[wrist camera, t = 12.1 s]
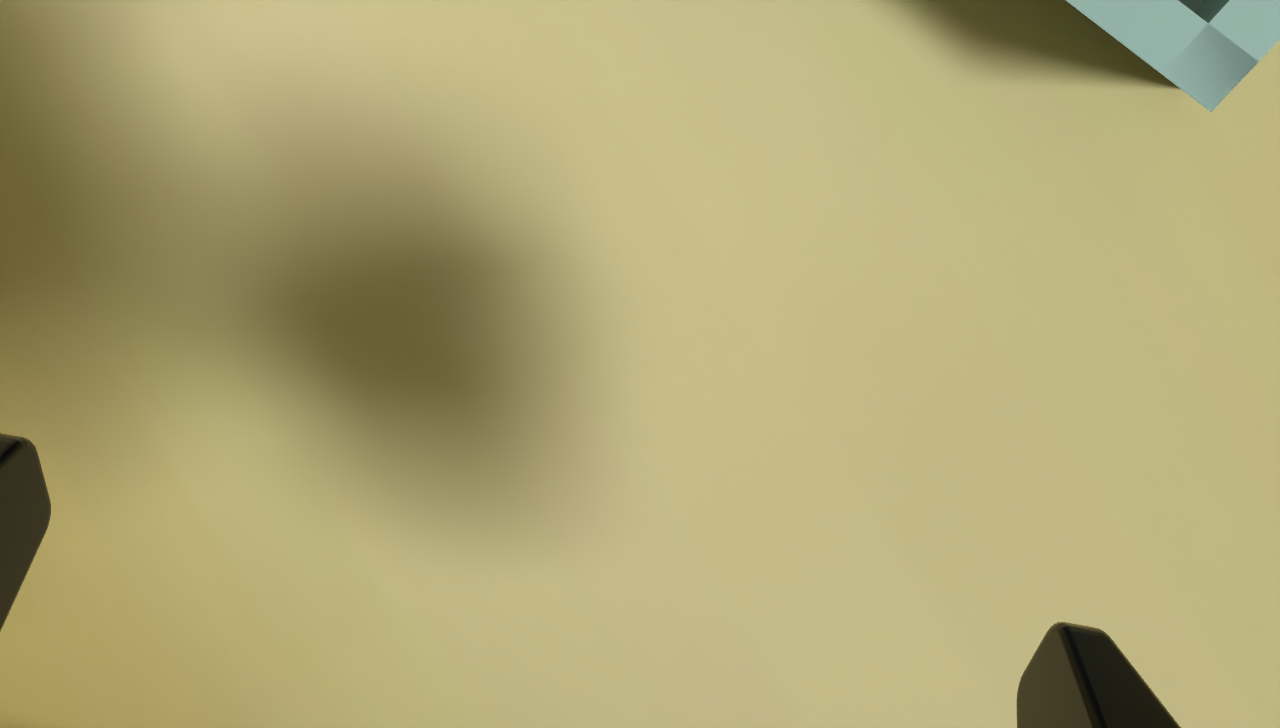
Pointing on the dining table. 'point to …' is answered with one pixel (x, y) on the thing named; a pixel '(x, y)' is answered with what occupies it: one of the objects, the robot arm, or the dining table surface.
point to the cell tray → (1192, 38)
